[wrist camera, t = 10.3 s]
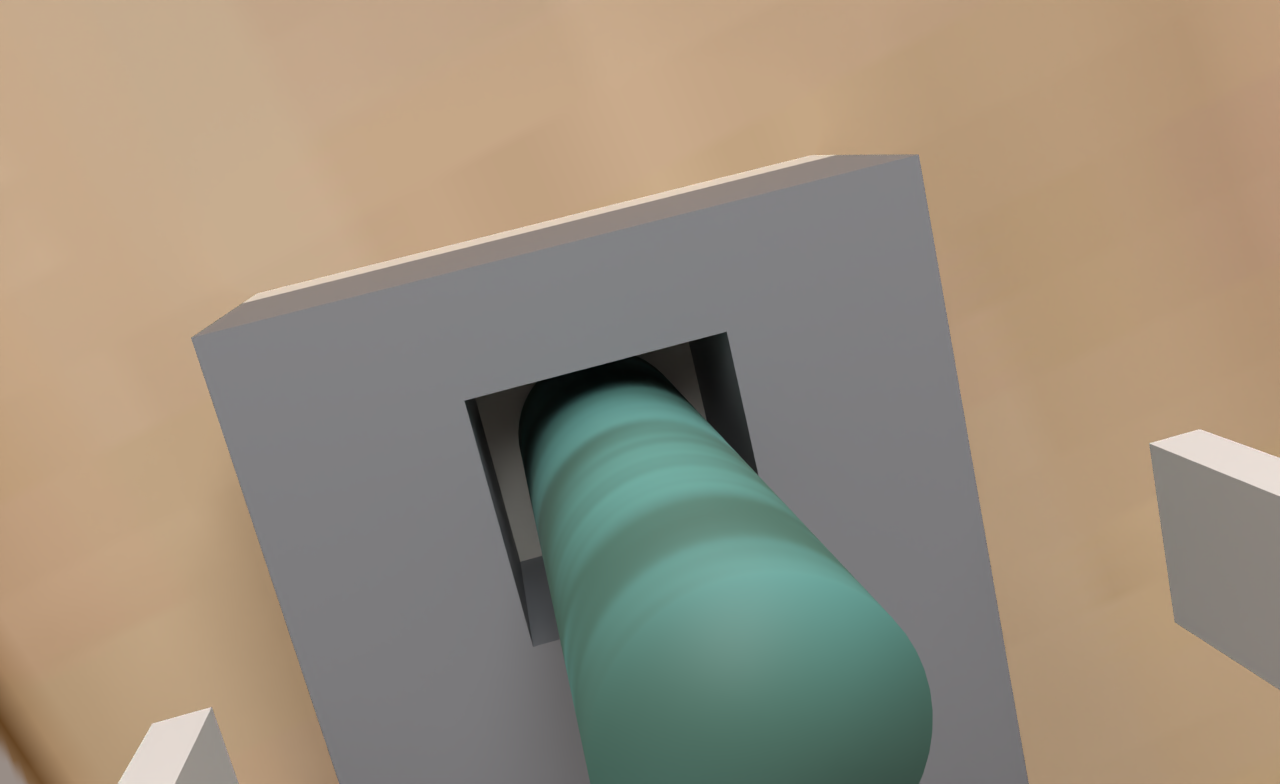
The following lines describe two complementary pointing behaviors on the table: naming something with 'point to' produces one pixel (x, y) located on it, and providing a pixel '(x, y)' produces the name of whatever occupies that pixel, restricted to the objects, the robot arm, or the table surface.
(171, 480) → the table surface
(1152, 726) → the table surface
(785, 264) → the hole block
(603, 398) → the pin
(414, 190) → the table surface
